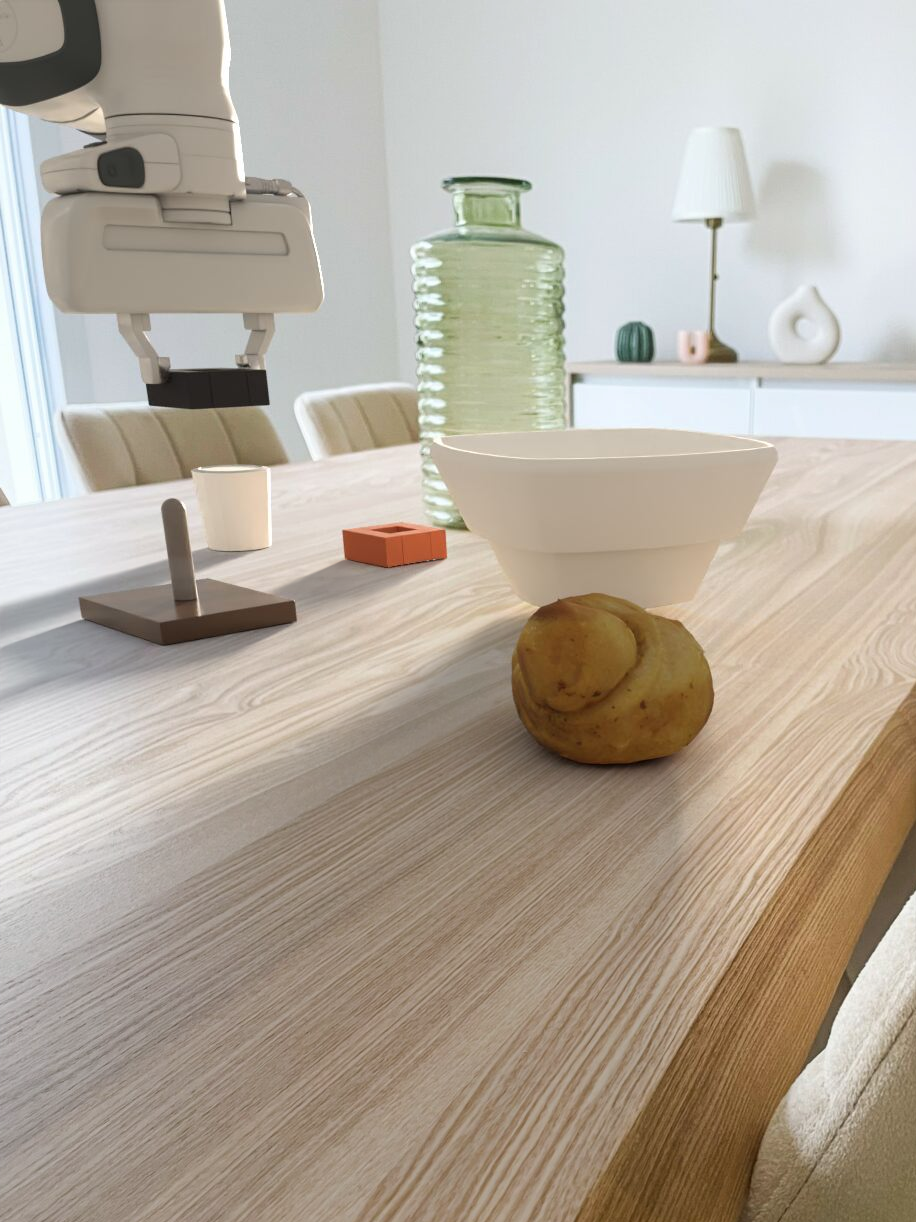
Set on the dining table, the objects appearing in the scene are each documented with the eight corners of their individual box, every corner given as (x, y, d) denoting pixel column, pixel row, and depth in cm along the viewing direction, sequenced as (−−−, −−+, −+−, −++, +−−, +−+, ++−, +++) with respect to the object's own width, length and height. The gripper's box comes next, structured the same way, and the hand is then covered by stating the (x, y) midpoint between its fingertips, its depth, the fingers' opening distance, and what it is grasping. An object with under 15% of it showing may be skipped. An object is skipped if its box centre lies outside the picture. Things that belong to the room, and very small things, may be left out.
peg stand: (81, 618, 92) (60, 497, 89) (210, 597, 98) (195, 484, 95) (163, 645, 84) (143, 514, 81) (297, 621, 91) (284, 499, 88)
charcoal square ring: (148, 406, 97) (143, 370, 96) (225, 401, 101) (221, 367, 100) (191, 409, 93) (186, 372, 92) (270, 405, 97) (266, 369, 96)
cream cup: (219, 554, 116) (208, 473, 113) (189, 545, 121) (179, 467, 118) (290, 546, 120) (282, 468, 117) (259, 537, 125) (250, 462, 122)
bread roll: (497, 708, 71) (490, 559, 67) (671, 697, 73) (672, 552, 69) (529, 785, 59) (522, 609, 56) (734, 770, 61) (739, 599, 58)
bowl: (409, 594, 99) (397, 435, 95) (664, 570, 109) (664, 424, 104) (517, 656, 81) (509, 464, 77) (812, 620, 91) (820, 447, 86)
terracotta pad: (344, 558, 114) (341, 529, 113) (403, 550, 118) (401, 522, 117) (387, 567, 110) (385, 537, 109) (447, 558, 114) (445, 529, 113)
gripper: (283, 183, 100) (302, 375, 105) (14, 163, 86) (52, 385, 92) (330, 178, 96) (348, 377, 101) (56, 156, 82) (93, 388, 88)
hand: (205, 381), depth 96 cm, fingers closed on charcoal square ring, 6 cm apart
